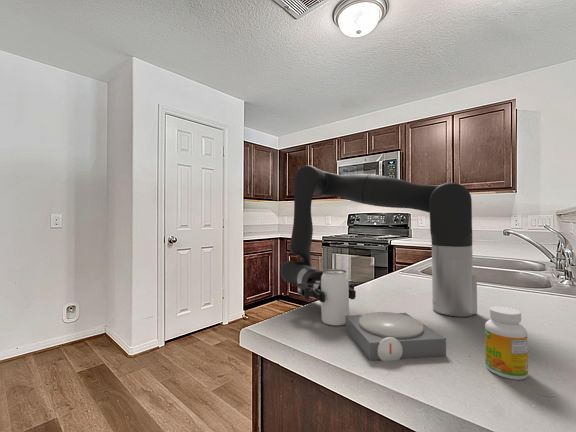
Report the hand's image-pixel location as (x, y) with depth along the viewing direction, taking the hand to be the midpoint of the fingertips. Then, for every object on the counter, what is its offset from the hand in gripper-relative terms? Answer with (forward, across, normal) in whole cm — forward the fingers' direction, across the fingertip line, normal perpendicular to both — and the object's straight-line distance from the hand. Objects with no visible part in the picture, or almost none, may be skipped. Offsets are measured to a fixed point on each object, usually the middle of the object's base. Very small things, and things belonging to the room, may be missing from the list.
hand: (338, 296), depth 66 cm
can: (-2, 0, +7) cm, 7 cm away
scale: (+11, +6, +6) cm, 14 cm away
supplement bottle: (+26, +16, +7) cm, 32 cm away
